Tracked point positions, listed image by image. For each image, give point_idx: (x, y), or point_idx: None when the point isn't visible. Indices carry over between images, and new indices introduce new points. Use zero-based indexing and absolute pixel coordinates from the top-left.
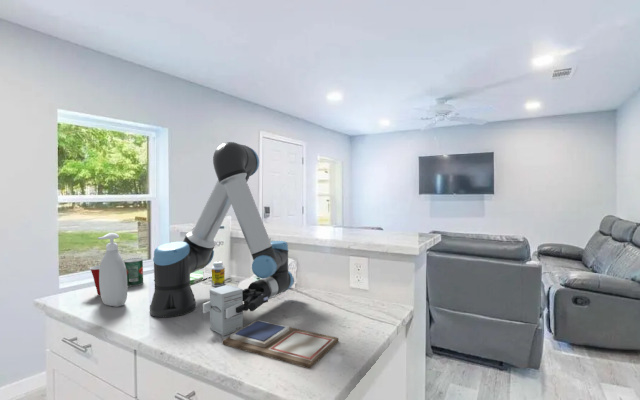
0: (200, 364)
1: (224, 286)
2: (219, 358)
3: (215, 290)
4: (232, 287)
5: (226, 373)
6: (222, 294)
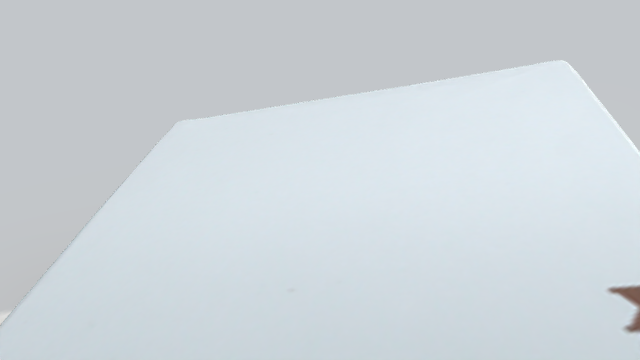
0: None
1: (555, 204)
2: None
3: (411, 90)
4: (266, 296)
5: (3, 315)
6: (175, 127)
